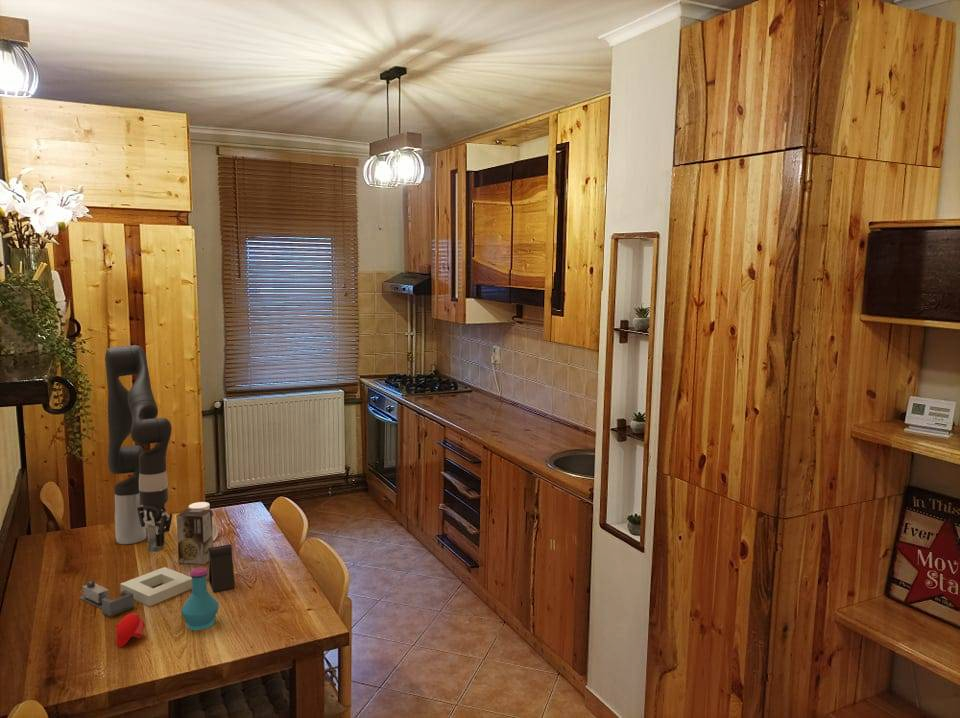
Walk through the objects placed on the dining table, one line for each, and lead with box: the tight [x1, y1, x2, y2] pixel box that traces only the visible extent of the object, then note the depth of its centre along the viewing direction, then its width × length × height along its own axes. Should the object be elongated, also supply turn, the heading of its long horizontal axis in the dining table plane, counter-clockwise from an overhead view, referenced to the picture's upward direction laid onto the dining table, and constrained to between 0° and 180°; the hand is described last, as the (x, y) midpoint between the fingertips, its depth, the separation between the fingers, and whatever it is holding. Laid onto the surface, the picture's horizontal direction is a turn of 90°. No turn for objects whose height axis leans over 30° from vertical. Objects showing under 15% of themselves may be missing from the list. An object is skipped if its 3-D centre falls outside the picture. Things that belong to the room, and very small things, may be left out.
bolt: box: [82, 579, 110, 604], centre depth 195 cm, size 8×3×4 cm, turn 58°
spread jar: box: [188, 501, 219, 541], centre depth 241 cm, size 12×11×12 cm
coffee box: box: [175, 508, 214, 565], centre depth 223 cm, size 9×6×16 cm
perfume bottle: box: [181, 566, 220, 631], centre depth 182 cm, size 9×9×15 cm
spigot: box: [146, 520, 164, 553], centre depth 200 cm, size 5×5×9 cm
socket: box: [119, 566, 192, 607], centre depth 201 cm, size 14×14×3 cm
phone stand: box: [207, 544, 236, 593], centre depth 206 cm, size 9×6×12 cm, turn 30°
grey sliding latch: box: [78, 590, 135, 618], centre depth 193 cm, size 18×7×4 cm, turn 58°
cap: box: [115, 612, 145, 648], centre depth 174 cm, size 8×6×6 cm
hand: (155, 543), depth 200 cm, fingers closed on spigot, 4 cm apart
